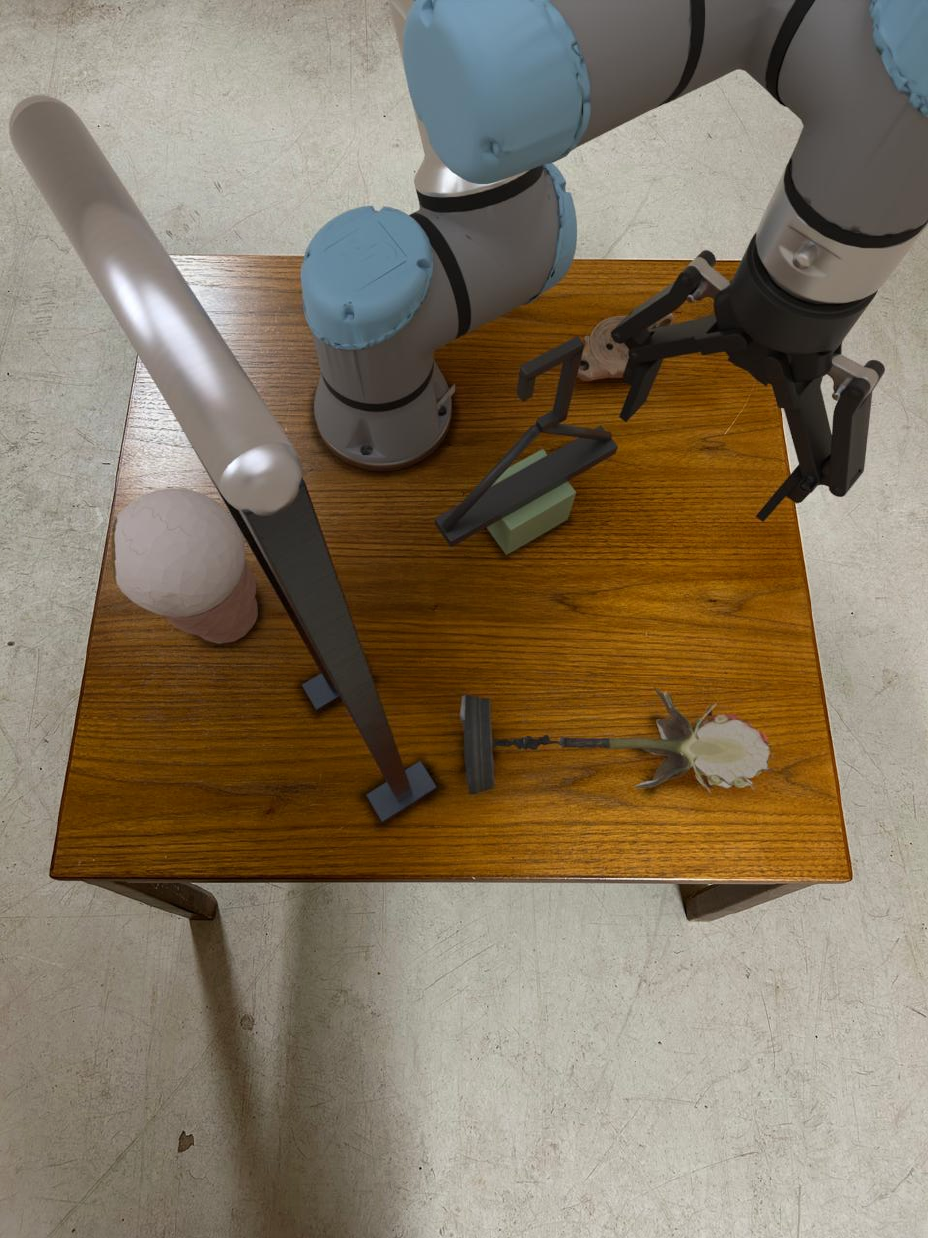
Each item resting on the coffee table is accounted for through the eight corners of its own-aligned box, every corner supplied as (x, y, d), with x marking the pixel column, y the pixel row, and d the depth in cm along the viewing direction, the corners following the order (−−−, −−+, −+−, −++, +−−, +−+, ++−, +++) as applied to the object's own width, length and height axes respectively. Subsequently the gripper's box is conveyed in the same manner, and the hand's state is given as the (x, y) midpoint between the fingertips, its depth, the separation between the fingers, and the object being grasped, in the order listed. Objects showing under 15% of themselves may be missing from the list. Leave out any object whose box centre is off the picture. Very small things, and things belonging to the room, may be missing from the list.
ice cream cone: (158, 585, 80) (70, 489, 62) (260, 550, 82) (204, 446, 63) (186, 679, 77) (101, 608, 58) (291, 640, 79) (242, 560, 60)
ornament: (742, 695, 77) (777, 671, 69) (756, 796, 74) (794, 783, 66) (460, 698, 77) (462, 674, 69) (462, 800, 74) (463, 787, 65)
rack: (303, 687, 77) (-98, 110, 20) (356, 656, 78) (114, 30, 22) (382, 823, 73) (153, 568, 16) (437, 788, 74) (400, 437, 17)
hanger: (449, 548, 76) (449, 429, 56) (433, 525, 77) (428, 400, 57) (616, 453, 80) (670, 311, 60) (599, 431, 81) (647, 285, 61)
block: (475, 512, 84) (477, 484, 78) (536, 477, 85) (542, 448, 80) (506, 555, 82) (510, 530, 77) (567, 519, 84) (576, 492, 78)
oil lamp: (586, 404, 89) (593, 377, 84) (553, 356, 91) (559, 327, 86) (682, 362, 91) (694, 332, 86) (648, 315, 93) (658, 284, 88)
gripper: (599, 178, 44) (550, 398, 64) (985, 431, 40) (803, 584, 60) (676, 108, 46) (605, 343, 66) (1053, 340, 41) (854, 519, 62)
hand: (698, 457), depth 63 cm, fingers open, 13 cm apart
